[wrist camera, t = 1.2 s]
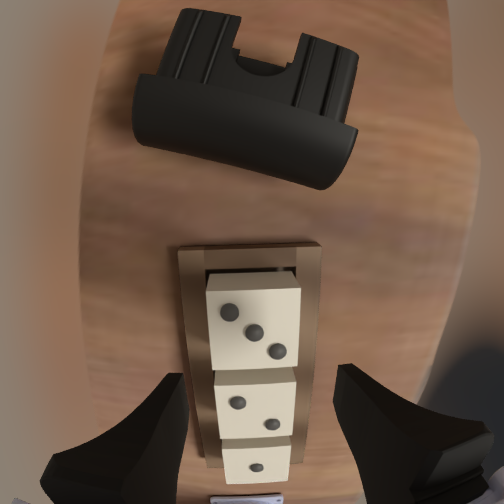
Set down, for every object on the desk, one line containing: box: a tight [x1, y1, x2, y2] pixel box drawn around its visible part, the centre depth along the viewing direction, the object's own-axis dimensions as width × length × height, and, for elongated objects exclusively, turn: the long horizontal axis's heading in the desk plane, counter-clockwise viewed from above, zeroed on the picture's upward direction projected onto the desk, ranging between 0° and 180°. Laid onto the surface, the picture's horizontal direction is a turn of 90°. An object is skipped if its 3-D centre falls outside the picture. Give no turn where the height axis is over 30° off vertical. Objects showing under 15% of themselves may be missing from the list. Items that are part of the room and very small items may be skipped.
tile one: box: [222, 435, 291, 484], centre depth 21 cm, size 5×5×3 cm
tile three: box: [206, 271, 301, 370], centre depth 18 cm, size 5×5×3 cm
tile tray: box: [177, 242, 322, 468], centre depth 22 cm, size 20×9×1 cm, turn 1°
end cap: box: [132, 8, 359, 190], centre depth 15 cm, size 10×7×7 cm
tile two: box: [214, 367, 296, 439], centre depth 20 cm, size 5×5×3 cm
